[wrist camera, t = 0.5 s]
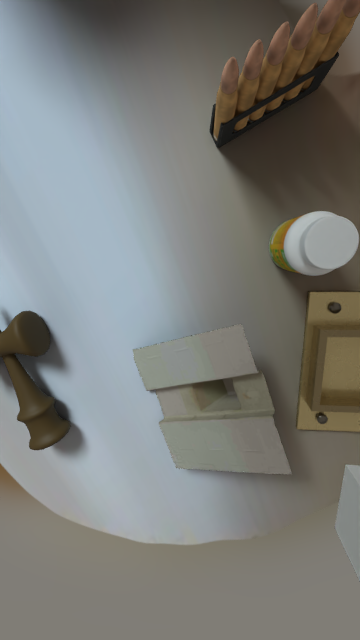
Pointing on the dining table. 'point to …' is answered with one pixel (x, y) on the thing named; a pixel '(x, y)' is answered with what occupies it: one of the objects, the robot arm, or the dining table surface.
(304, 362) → the wooden holder tray
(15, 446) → the dining table surface
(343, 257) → the supplement bottle
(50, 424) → the kendama
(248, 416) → the grey tablet stand
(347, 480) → the robot arm
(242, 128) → the ammunition clip
